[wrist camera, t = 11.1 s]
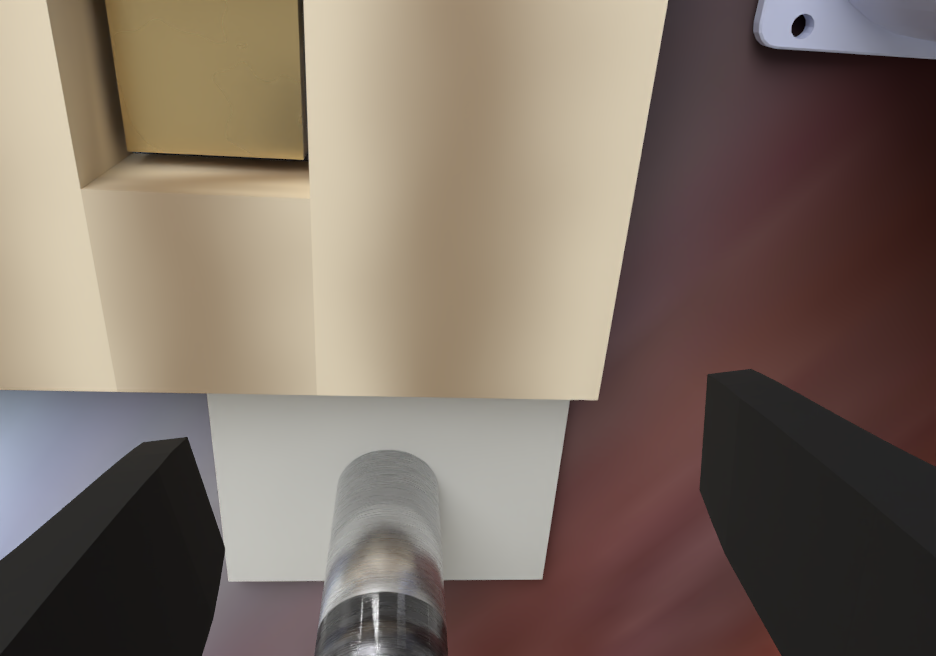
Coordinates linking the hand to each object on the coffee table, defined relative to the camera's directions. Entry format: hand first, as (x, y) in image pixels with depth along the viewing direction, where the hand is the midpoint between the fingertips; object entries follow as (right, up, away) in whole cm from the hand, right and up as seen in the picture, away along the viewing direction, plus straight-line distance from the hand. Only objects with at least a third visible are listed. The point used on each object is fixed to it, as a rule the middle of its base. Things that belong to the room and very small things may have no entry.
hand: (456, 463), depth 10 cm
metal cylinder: (-2, -3, +11) cm, 12 cm away
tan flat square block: (-5, +8, +6) cm, 11 cm away
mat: (-2, -3, +12) cm, 12 cm away
